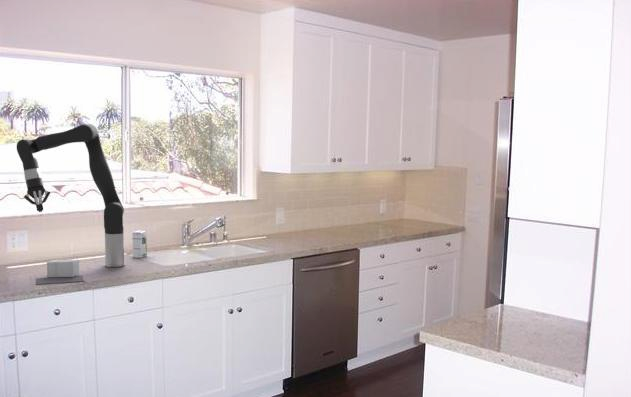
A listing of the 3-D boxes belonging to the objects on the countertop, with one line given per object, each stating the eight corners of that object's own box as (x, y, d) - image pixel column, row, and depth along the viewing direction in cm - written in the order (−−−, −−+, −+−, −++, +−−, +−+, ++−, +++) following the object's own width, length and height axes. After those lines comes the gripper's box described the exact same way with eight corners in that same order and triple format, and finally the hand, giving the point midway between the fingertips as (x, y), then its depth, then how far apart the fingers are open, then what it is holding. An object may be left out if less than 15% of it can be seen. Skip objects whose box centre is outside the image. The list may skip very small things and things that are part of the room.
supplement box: (53, 274, 284) (79, 274, 284) (46, 277, 277) (73, 277, 277) (53, 259, 284) (79, 259, 284) (46, 261, 277) (73, 261, 277)
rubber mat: (82, 276, 283) (82, 275, 283) (83, 281, 272) (83, 280, 272) (36, 278, 275) (36, 278, 275) (35, 284, 264) (35, 284, 264)
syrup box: (141, 258, 328) (141, 232, 327) (132, 257, 329) (132, 231, 328) (146, 256, 334) (146, 230, 332) (137, 255, 335) (137, 230, 333)
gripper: (20, 179, 292) (27, 213, 292) (48, 175, 299) (55, 208, 300) (18, 181, 298) (25, 214, 298) (46, 177, 306) (53, 209, 306)
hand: (40, 211), depth 299 cm, fingers closed
